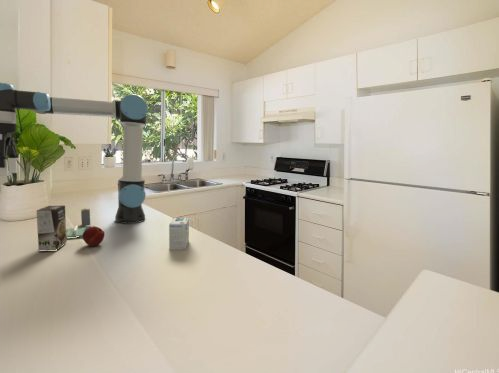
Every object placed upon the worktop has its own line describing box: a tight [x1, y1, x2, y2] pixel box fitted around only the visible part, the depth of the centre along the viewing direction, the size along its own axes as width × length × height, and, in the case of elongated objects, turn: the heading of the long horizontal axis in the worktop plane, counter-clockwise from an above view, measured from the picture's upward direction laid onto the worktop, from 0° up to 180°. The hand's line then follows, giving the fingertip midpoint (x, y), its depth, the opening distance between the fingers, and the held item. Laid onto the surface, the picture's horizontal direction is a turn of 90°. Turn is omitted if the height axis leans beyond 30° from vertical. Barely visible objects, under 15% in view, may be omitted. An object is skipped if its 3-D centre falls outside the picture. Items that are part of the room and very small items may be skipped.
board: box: [66, 224, 92, 239], centre depth 126 cm, size 16×12×3 cm
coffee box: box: [36, 205, 68, 251], centre depth 108 cm, size 9×6×16 cm
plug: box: [80, 207, 91, 227], centre depth 141 cm, size 4×4×9 cm
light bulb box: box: [168, 217, 190, 251], centre depth 116 cm, size 11×7×11 cm, turn 5°
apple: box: [81, 225, 106, 247], centre depth 112 cm, size 7×8×8 cm
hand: (8, 174), depth 117 cm, fingers open, 13 cm apart
